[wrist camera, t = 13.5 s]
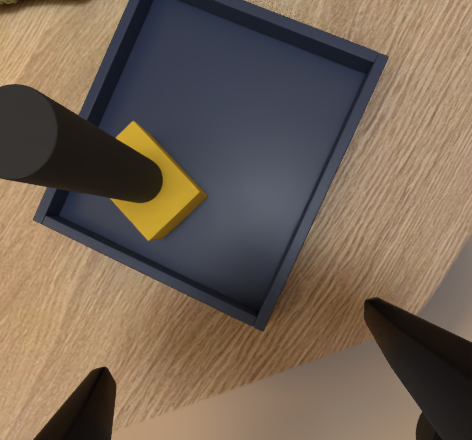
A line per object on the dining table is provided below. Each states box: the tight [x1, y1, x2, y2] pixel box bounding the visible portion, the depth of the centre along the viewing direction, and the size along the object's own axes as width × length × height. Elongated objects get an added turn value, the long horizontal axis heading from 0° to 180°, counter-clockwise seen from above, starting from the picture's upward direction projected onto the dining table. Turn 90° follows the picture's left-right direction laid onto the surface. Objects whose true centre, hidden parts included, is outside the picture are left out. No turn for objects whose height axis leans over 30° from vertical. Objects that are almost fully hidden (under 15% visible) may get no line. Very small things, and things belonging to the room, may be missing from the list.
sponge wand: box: [0, 84, 208, 241], centre depth 16 cm, size 7×5×13 cm
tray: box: [33, 0, 389, 331], centre depth 21 cm, size 20×22×2 cm
